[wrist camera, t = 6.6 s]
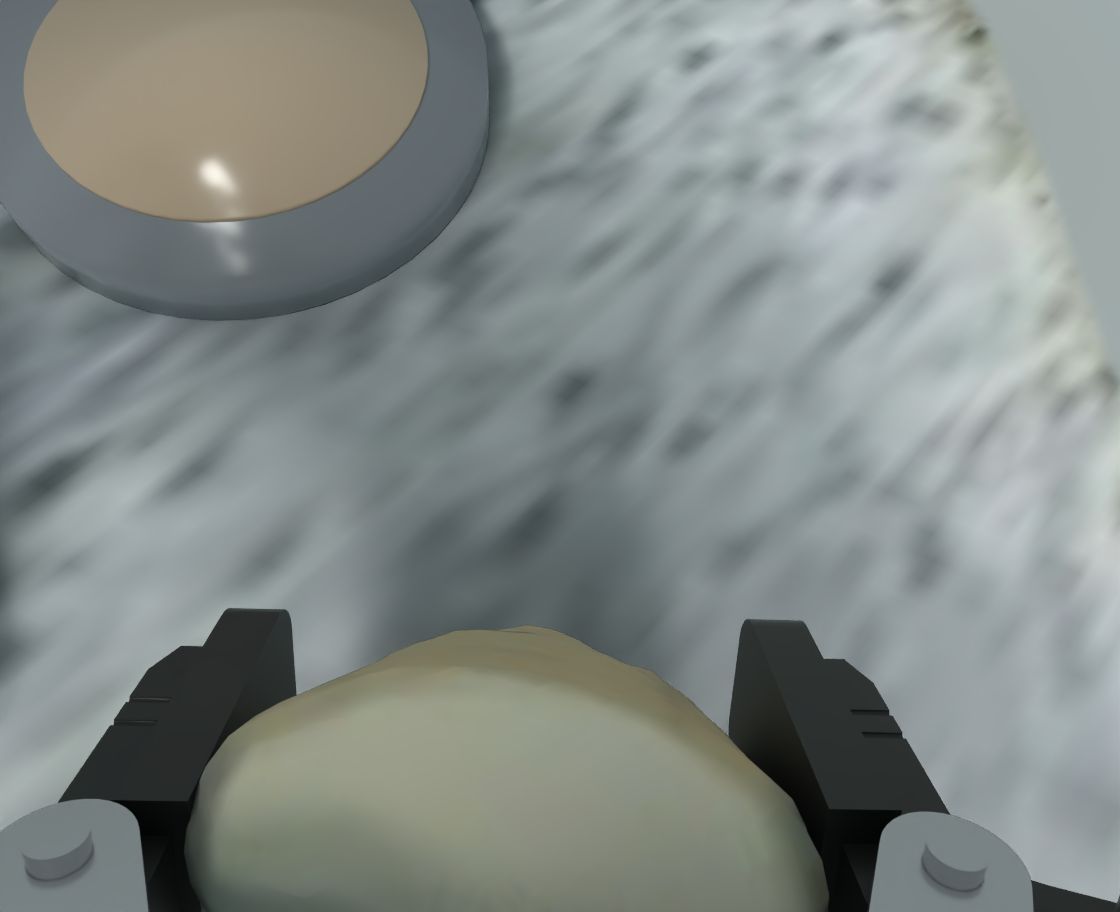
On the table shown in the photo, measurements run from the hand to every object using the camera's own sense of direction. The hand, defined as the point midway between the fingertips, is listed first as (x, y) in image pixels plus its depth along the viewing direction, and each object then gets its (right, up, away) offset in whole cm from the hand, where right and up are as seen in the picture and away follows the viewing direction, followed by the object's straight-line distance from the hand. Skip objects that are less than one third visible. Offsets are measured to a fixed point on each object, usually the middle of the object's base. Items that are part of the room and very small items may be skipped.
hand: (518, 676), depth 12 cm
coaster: (-7, +11, +9) cm, 16 cm away
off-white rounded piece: (0, -3, +3) cm, 5 cm away
